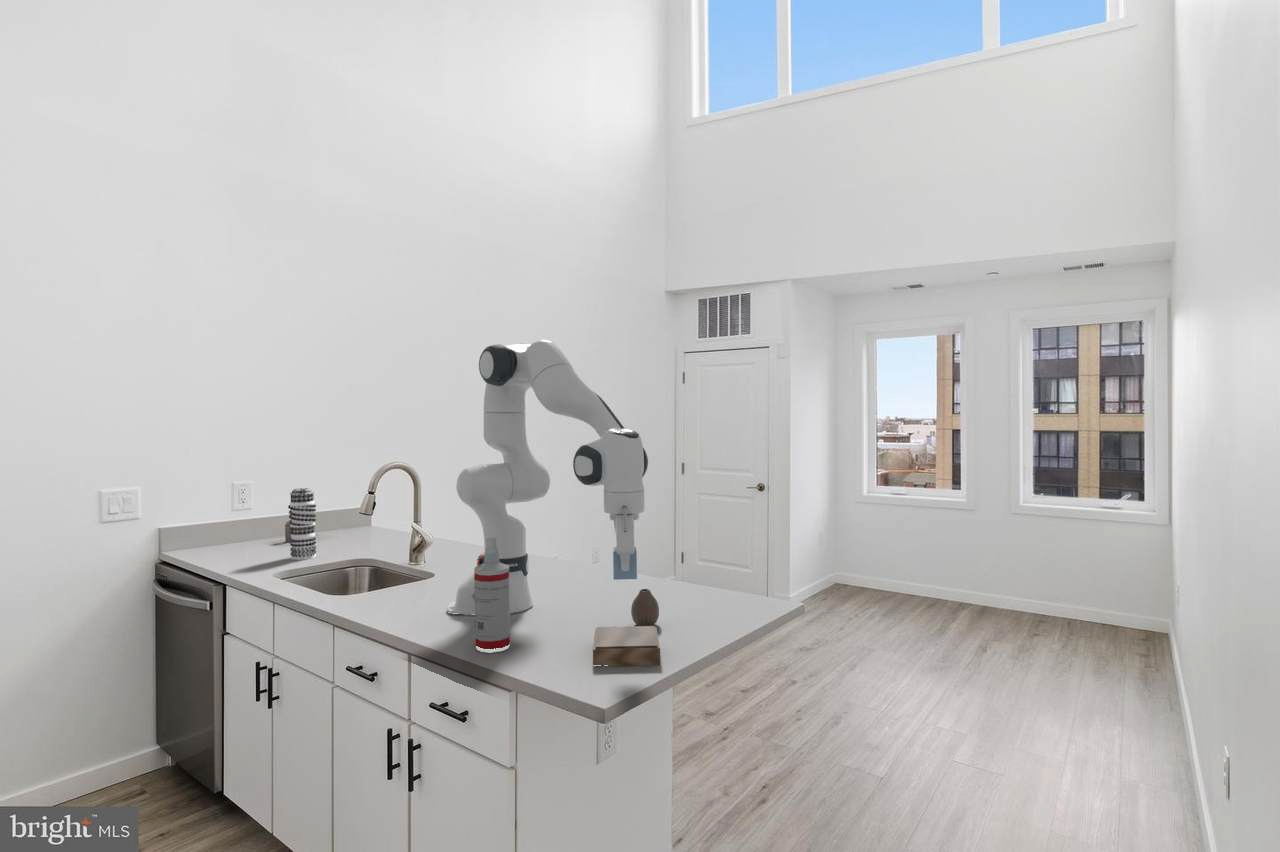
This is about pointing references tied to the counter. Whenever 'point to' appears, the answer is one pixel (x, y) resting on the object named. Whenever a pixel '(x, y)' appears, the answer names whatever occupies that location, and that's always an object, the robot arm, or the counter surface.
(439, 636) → the counter surface
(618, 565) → the slate block
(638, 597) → the vase
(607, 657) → the walnut plinth
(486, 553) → the nozzle bottle
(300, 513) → the decorative candle
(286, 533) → the architectural model on board
